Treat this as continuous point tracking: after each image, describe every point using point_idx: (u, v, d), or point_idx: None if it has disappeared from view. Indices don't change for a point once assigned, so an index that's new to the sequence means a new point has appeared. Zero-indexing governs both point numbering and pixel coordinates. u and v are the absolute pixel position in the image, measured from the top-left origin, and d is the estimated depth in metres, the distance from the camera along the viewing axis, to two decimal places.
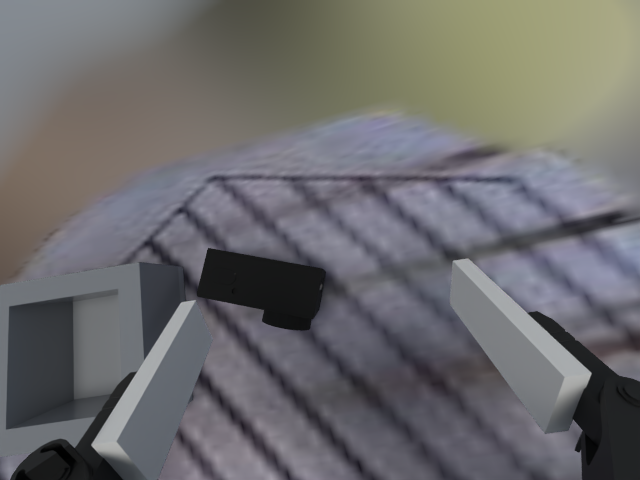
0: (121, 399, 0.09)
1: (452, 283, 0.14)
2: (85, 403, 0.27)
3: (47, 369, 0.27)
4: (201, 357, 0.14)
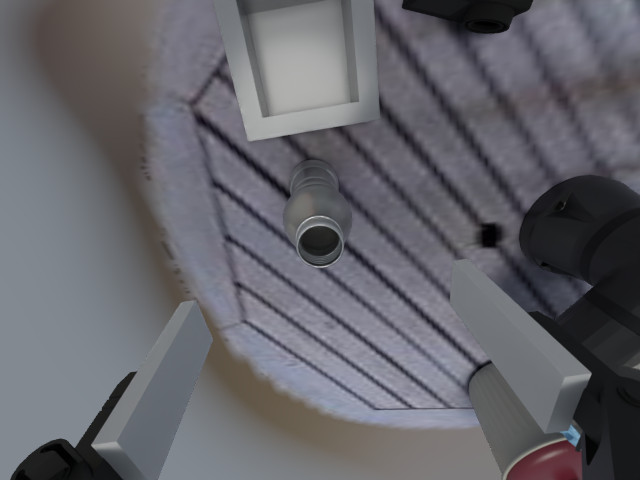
0: (121, 399, 0.09)
1: (452, 283, 0.14)
2: (293, 112, 0.32)
3: (258, 79, 0.30)
4: (201, 357, 0.14)
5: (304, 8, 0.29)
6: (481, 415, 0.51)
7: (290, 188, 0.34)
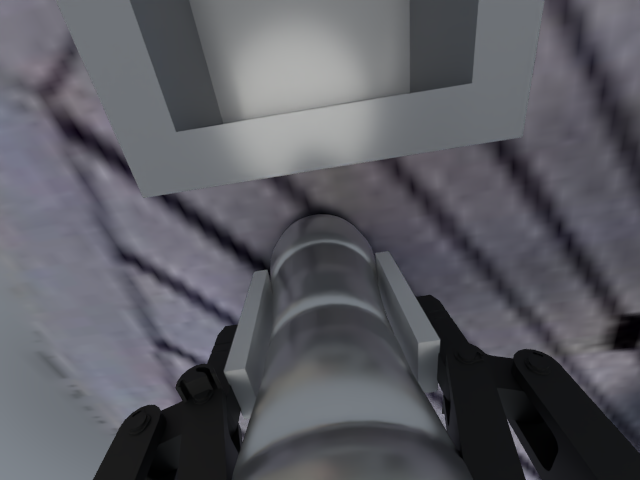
0: (234, 341, 0.11)
1: (377, 273, 0.16)
2: (276, 114, 0.13)
3: (176, 22, 0.11)
4: None
5: None
6: None
7: (271, 284, 0.15)
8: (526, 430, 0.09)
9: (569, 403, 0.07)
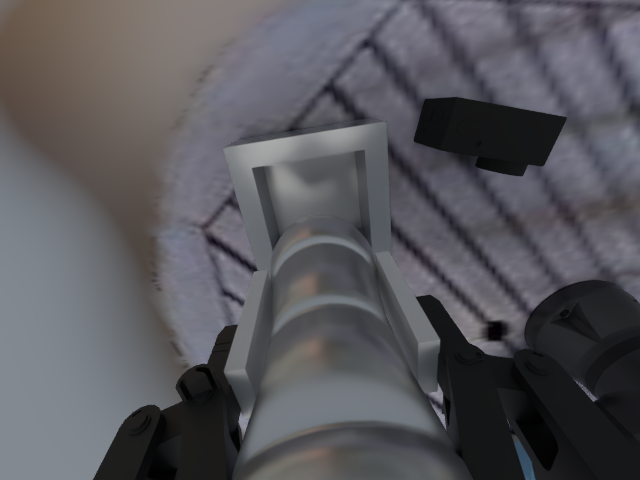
0: (234, 341, 0.11)
1: (377, 273, 0.16)
2: None
3: (271, 219, 0.30)
4: None
5: None
6: None
7: (271, 284, 0.15)
8: (526, 430, 0.09)
9: (569, 403, 0.07)
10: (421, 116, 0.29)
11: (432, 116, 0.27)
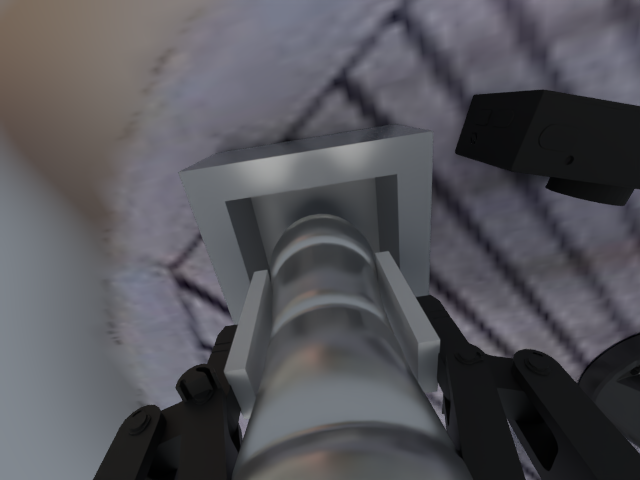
0: (234, 341, 0.11)
1: (377, 273, 0.16)
2: None
3: (259, 264, 0.22)
4: None
5: None
6: None
7: (271, 284, 0.15)
8: (526, 430, 0.09)
9: (570, 403, 0.07)
10: (468, 119, 0.21)
11: (490, 119, 0.18)
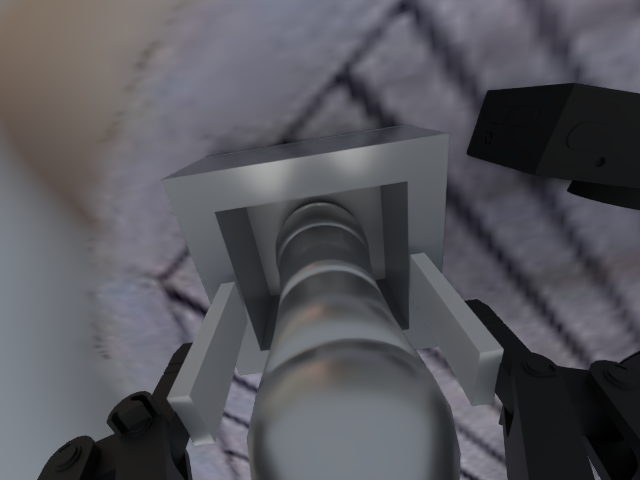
0: (185, 363, 0.10)
1: (411, 275, 0.15)
2: None
3: (255, 277, 0.20)
4: (240, 334, 0.15)
5: None
6: None
7: (277, 263, 0.17)
8: (597, 445, 0.08)
9: None
10: (481, 117, 0.19)
11: (508, 117, 0.17)
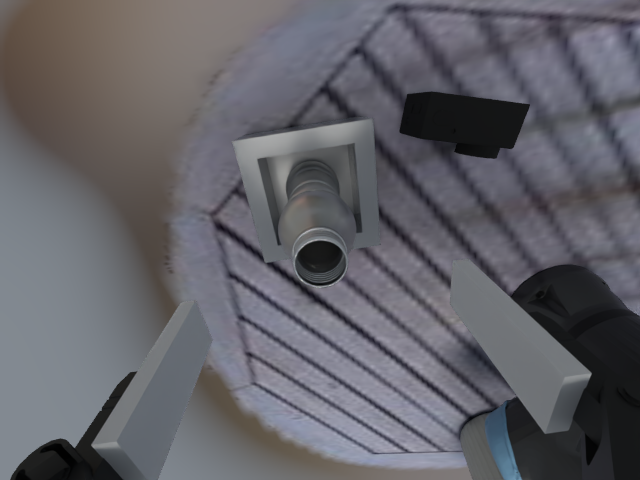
0: (121, 399, 0.09)
1: (452, 283, 0.14)
2: None
3: (273, 206, 0.34)
4: (201, 357, 0.14)
5: None
6: (471, 466, 0.56)
7: (287, 192, 0.31)
8: None
9: None
10: (405, 109, 0.33)
11: (413, 109, 0.30)
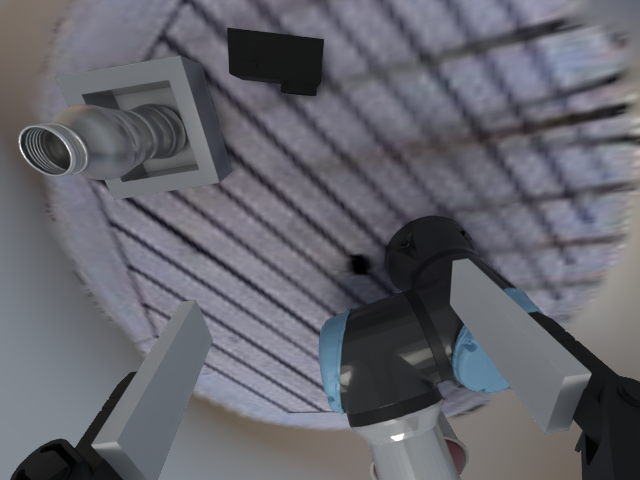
0: (121, 399, 0.09)
1: (452, 283, 0.14)
2: (160, 171, 0.39)
3: None
4: (201, 357, 0.14)
5: (160, 91, 0.36)
6: None
7: None
8: None
9: None
10: None
11: None
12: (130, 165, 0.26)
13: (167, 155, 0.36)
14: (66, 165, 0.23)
